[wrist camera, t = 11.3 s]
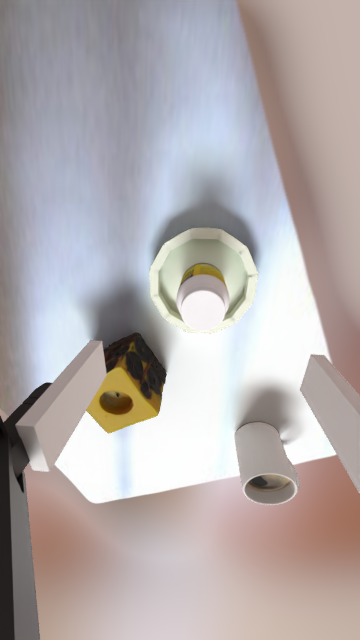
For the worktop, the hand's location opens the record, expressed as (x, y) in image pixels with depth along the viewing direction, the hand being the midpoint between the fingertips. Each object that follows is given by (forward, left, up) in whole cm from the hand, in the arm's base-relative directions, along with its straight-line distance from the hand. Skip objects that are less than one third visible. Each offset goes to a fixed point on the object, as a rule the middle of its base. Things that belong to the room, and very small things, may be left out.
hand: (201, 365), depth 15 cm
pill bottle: (0, 0, -21) cm, 21 cm away
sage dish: (0, 0, -22) cm, 22 cm away
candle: (+16, -12, -22) cm, 30 cm away
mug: (+33, +14, -22) cm, 42 cm away
